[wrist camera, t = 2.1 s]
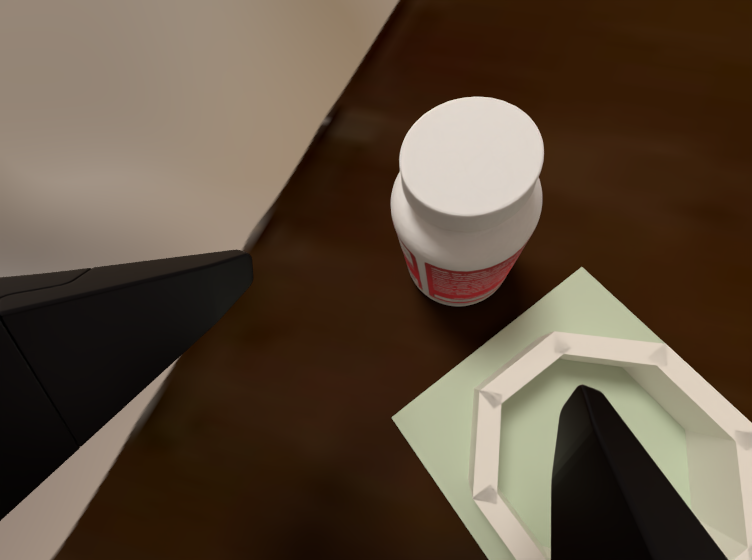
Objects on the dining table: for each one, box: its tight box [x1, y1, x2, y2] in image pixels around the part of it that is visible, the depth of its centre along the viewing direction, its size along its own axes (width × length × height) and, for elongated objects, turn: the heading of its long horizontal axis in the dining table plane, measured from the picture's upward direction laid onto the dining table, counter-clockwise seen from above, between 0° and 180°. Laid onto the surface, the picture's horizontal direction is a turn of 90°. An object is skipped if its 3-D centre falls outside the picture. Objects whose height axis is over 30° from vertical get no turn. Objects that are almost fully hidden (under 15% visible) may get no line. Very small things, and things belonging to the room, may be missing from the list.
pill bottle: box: [391, 97, 544, 306], centre depth 16 cm, size 6×6×11 cm
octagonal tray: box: [391, 267, 752, 560], centre depth 16 cm, size 14×14×4 cm
